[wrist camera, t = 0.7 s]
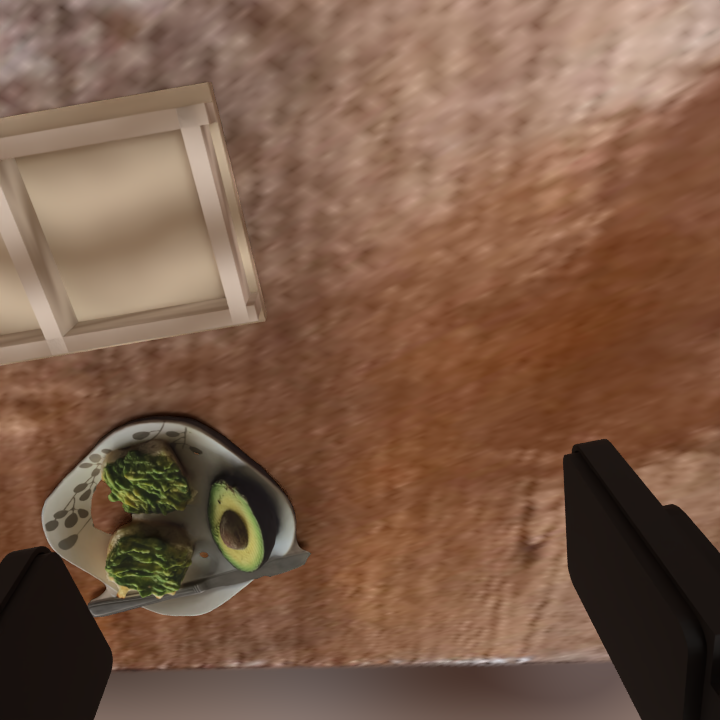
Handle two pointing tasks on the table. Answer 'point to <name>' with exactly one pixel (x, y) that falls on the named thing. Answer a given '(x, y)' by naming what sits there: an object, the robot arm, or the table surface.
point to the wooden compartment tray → (120, 226)
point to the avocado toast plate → (173, 519)
